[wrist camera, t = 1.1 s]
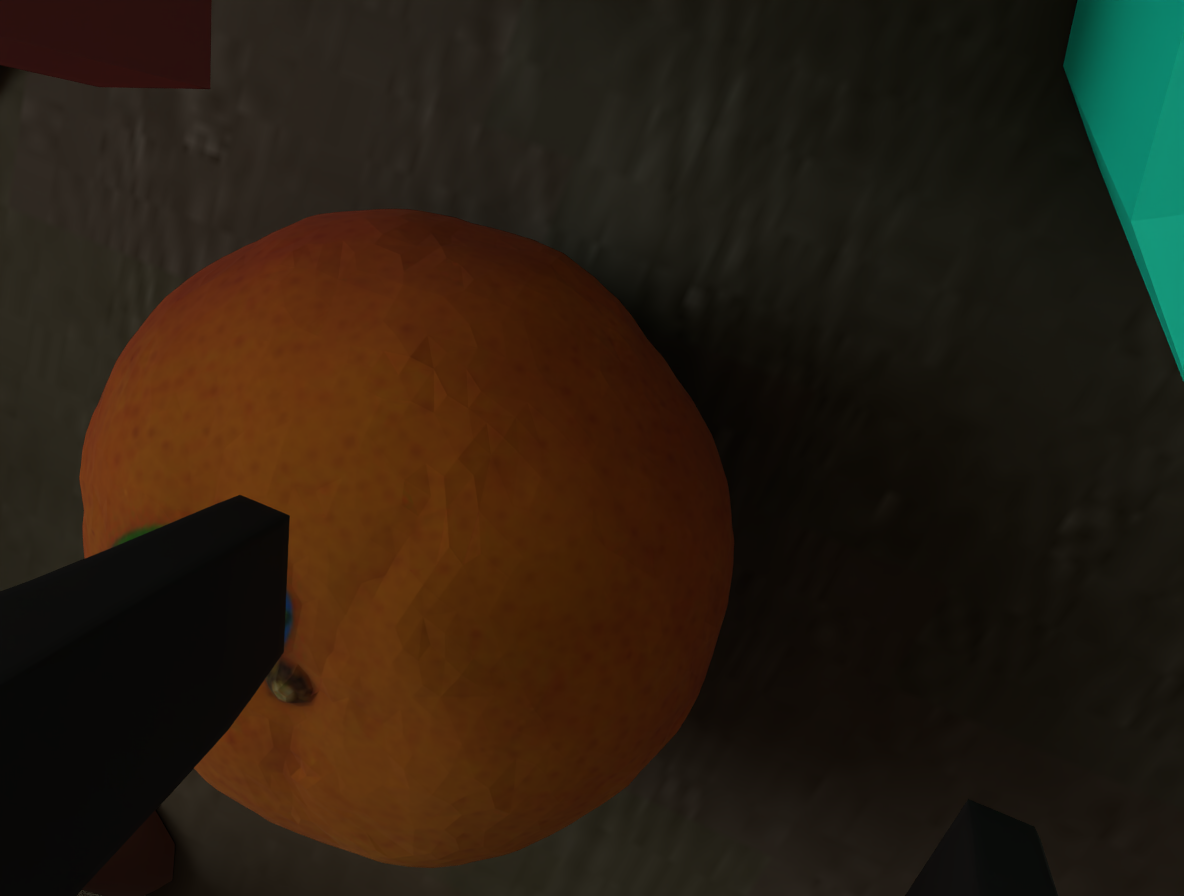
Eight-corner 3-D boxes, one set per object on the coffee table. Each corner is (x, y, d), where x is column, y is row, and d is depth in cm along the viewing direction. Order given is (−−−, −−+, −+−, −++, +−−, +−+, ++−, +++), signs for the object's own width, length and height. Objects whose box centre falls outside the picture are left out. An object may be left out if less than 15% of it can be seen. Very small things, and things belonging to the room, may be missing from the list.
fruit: (885, 557, 19) (811, 898, 12) (485, 720, 24) (277, 1020, 17) (554, 43, 17) (250, 102, 10) (202, 339, 22) (-153, 507, 16)
